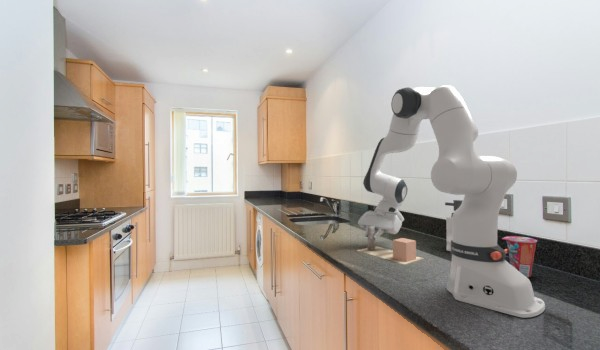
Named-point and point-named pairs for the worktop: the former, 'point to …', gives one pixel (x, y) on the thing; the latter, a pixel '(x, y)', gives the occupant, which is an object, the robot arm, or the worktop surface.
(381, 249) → the birch strip
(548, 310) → the worktop surface
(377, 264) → the worktop surface
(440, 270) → the worktop surface
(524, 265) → the cup
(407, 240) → the terracotta block
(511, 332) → the worktop surface
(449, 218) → the soap dispenser
